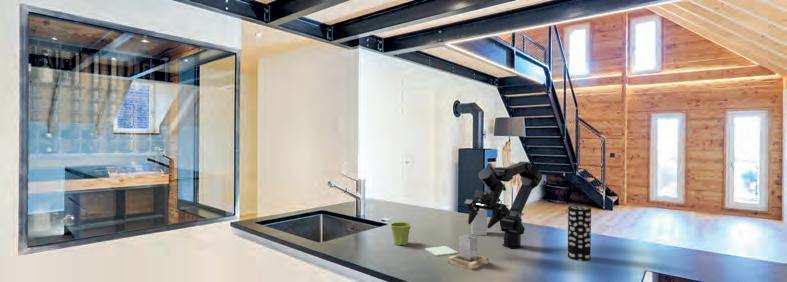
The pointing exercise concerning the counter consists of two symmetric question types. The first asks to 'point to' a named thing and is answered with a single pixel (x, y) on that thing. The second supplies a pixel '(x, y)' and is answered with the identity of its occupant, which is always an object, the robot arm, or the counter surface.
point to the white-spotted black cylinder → (579, 233)
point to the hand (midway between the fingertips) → (478, 225)
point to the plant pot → (400, 232)
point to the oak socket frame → (468, 265)
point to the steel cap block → (468, 248)
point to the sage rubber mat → (441, 250)
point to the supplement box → (480, 223)
